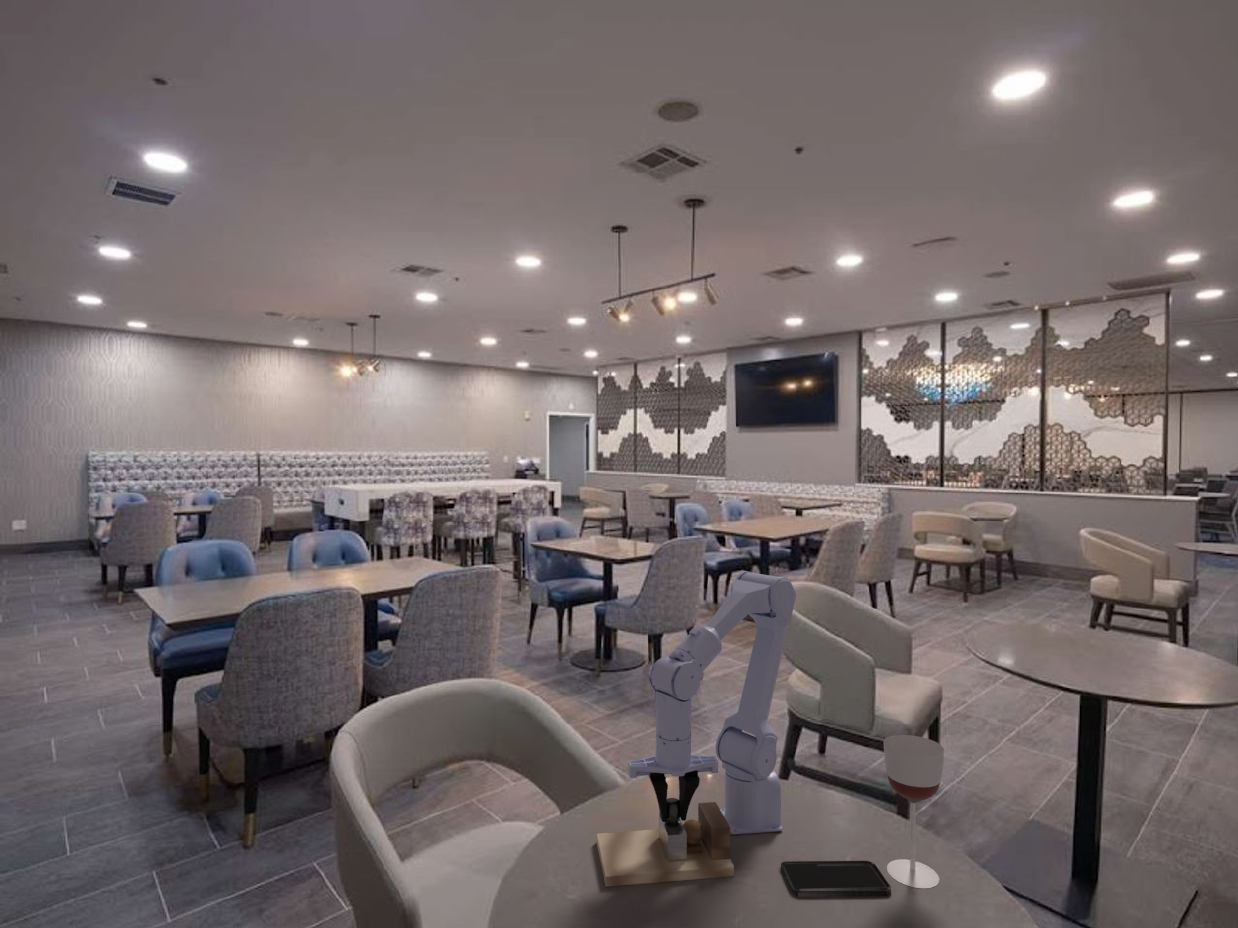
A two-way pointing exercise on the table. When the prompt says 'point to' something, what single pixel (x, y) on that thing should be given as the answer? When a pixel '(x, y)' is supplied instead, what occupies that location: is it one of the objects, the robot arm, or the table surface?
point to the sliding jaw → (673, 833)
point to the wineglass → (913, 795)
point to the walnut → (693, 831)
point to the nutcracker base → (646, 862)
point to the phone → (834, 879)
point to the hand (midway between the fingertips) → (672, 817)
